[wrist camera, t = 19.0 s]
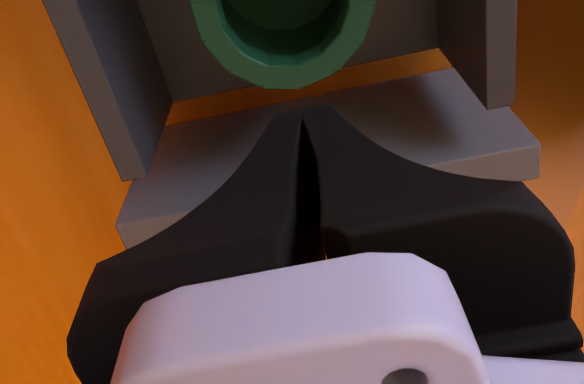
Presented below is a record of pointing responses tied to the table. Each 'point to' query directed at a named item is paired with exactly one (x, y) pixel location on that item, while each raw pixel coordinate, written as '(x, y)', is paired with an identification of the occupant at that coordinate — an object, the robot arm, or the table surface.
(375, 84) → the dish drawer
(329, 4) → the jar
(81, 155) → the table surface
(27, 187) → the table surface
